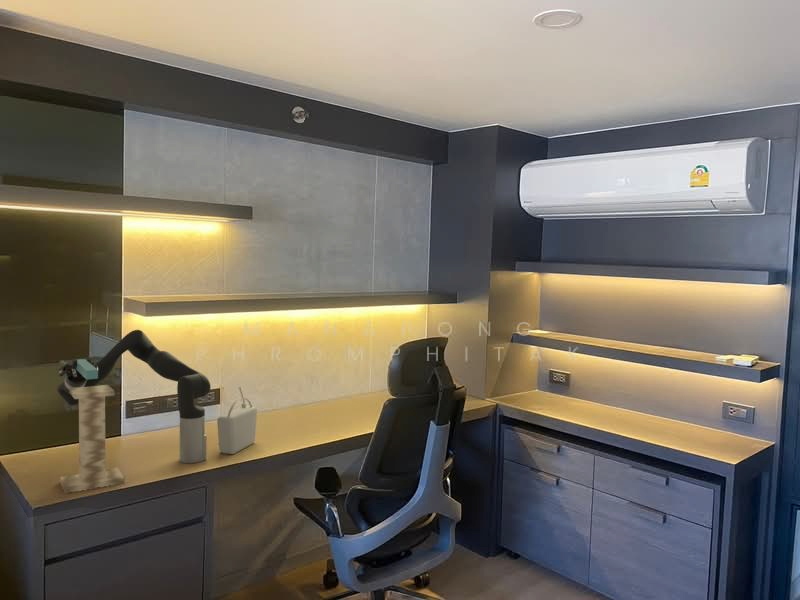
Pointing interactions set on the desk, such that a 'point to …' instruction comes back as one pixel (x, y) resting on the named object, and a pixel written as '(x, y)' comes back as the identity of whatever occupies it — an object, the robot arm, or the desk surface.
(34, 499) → the desk surface
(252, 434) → the white handbag
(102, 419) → the stand
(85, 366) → the bar
